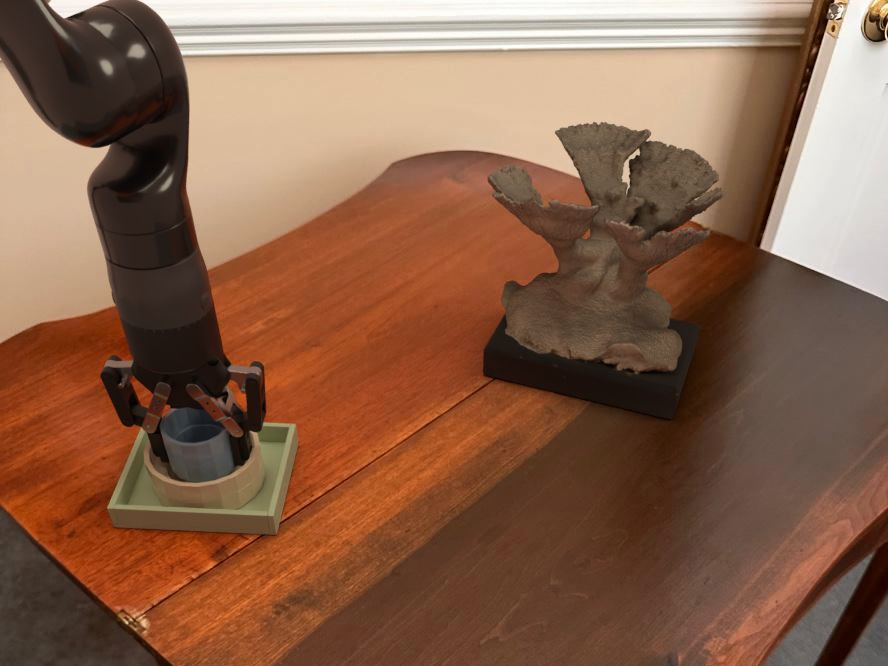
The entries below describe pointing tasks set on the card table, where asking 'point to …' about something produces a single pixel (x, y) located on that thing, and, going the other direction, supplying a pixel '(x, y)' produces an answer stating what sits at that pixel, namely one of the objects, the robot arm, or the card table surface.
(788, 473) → the card table surface
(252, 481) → the large bowl
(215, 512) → the tray
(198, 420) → the blue cup
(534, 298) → the coral
